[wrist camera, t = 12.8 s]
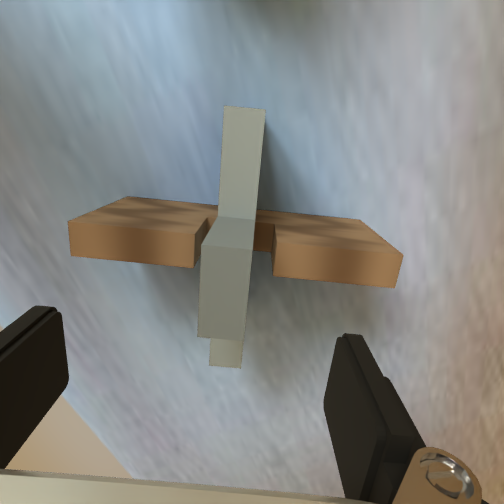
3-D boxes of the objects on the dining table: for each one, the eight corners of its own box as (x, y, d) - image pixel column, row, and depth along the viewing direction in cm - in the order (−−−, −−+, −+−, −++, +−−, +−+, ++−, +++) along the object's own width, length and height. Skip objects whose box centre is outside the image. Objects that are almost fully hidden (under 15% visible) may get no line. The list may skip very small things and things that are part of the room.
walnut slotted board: (128, 221, 31) (70, 255, 22) (127, 196, 31) (67, 221, 21) (354, 243, 32) (394, 288, 22) (359, 219, 31) (403, 254, 21)
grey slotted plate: (236, 117, 28) (207, 90, 13) (264, 119, 28) (267, 96, 13) (223, 302, 34) (193, 433, 19) (246, 304, 34) (234, 436, 19)
